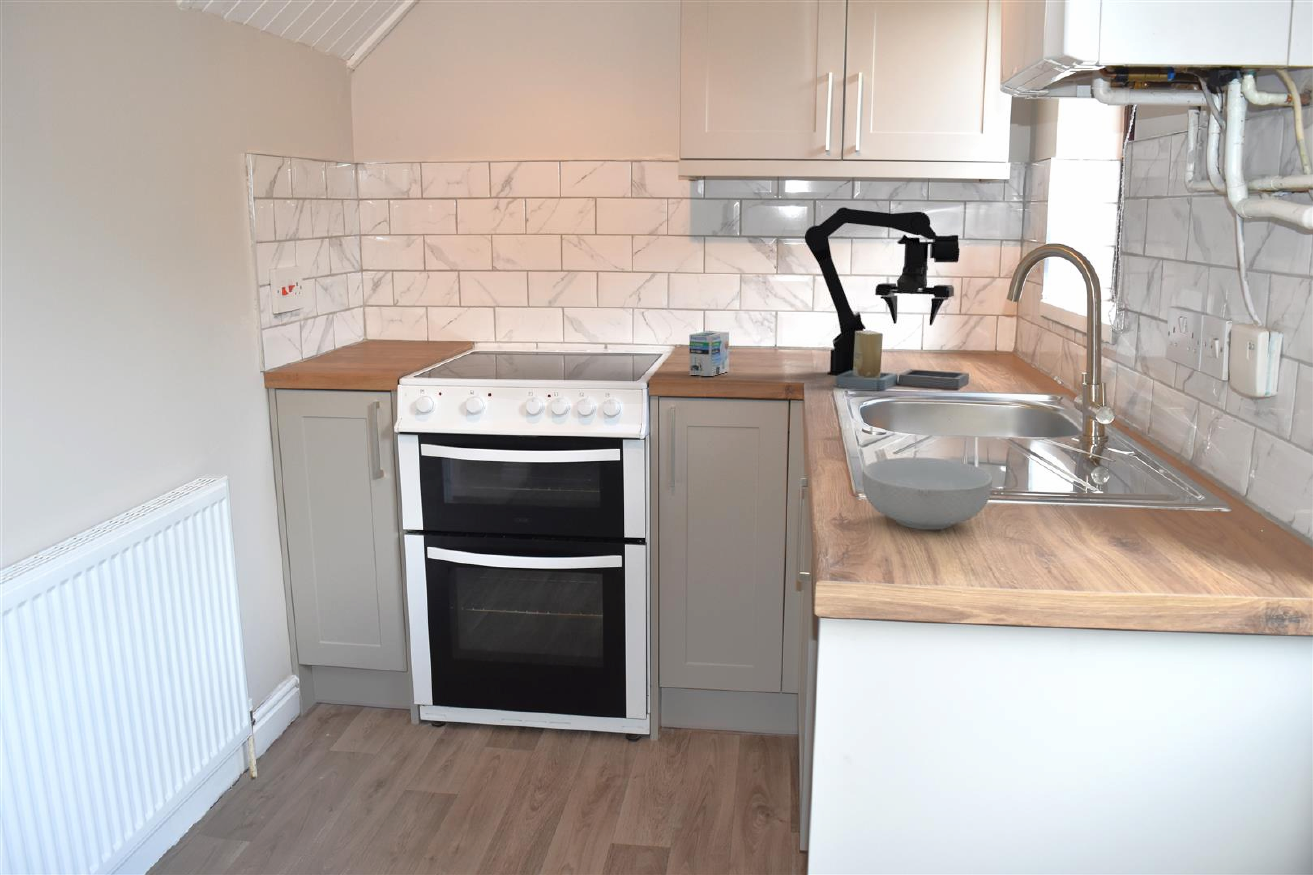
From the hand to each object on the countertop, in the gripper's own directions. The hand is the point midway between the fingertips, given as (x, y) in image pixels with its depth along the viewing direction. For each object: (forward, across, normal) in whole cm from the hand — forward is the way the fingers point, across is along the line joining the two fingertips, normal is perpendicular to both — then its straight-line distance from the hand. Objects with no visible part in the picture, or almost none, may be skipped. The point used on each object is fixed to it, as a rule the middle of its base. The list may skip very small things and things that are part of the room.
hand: (912, 324), depth 265 cm
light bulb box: (+13, -47, -22) cm, 54 cm away
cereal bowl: (+13, +37, -127) cm, 133 cm away
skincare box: (+12, -5, -21) cm, 25 cm away
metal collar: (+13, +9, -12) cm, 20 cm away
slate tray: (+13, -5, -21) cm, 25 cm away
